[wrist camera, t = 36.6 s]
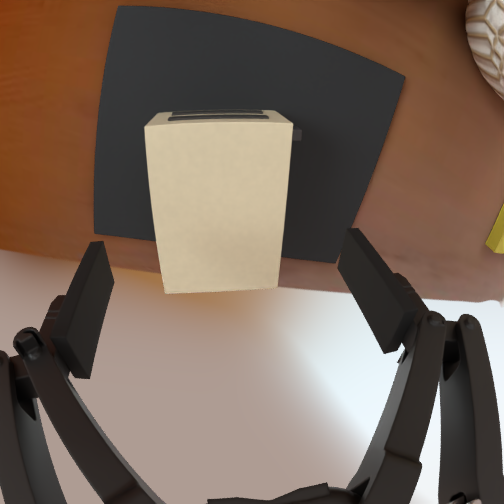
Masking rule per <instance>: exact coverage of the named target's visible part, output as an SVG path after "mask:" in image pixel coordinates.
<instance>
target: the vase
mask: <svg viewBox="0 0 504 504" xmlns="http://www.w3.org/2000/svg"><path fill="white" fill-rule="evenodd" d="M465 23H466V33H467V39H468V43H469V46H470V50H471V52H472V55H473V58H474V60H475V62H476V64H477V66H478V68H479V70H480V72H481V73H482V75H483V77H484V78H485V80H486V81H487V82H488V84H489V85H490V86H491V87H492V89H493V90H494V91H495V92H496V93H497V94H498V95H499V96H500V97H501V98H502V99H503V100H504V0H468V4H467V9H466V17H465Z"/></svg>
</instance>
